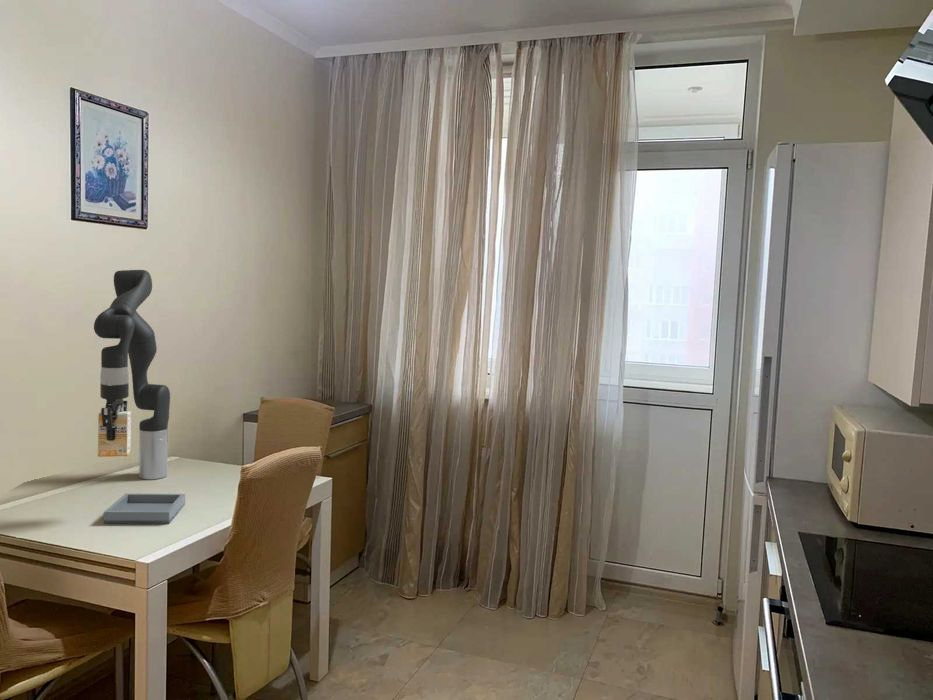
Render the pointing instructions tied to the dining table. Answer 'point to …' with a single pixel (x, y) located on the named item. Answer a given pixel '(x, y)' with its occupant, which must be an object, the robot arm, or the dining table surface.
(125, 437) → the supplement box
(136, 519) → the tray
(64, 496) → the dining table surface
